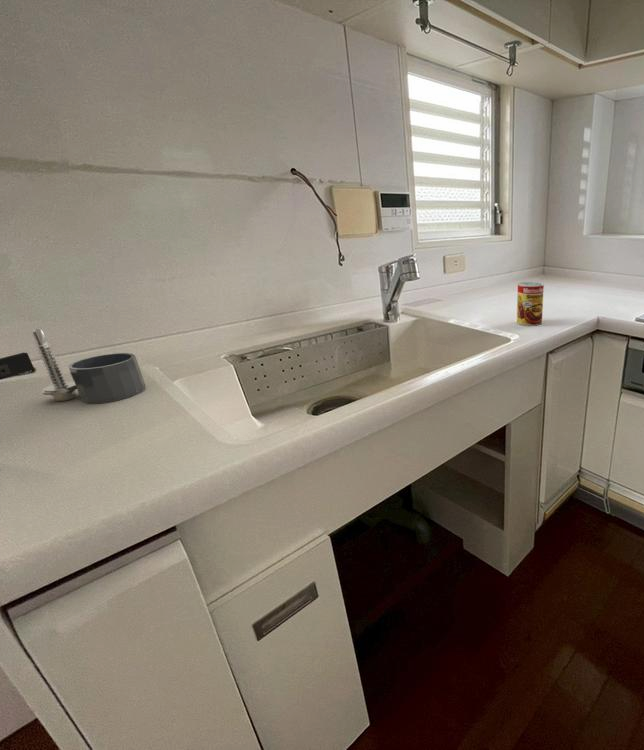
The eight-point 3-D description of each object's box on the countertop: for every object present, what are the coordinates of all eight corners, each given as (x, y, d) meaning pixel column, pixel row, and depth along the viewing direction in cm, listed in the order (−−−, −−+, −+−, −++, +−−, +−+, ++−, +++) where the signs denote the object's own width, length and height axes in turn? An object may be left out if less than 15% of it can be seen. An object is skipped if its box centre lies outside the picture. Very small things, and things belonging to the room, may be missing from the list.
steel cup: (69, 400, 72) (54, 366, 69) (124, 382, 80) (112, 351, 77) (104, 406, 70) (90, 371, 67) (157, 387, 77) (146, 355, 75)
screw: (87, 390, 76) (80, 400, 72) (51, 396, 73) (42, 406, 69) (60, 323, 71) (51, 329, 67) (20, 327, 68) (8, 333, 65)
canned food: (526, 327, 121) (528, 286, 117) (512, 321, 127) (512, 283, 123) (547, 323, 125) (549, 284, 120) (531, 318, 131) (533, 281, 127)
